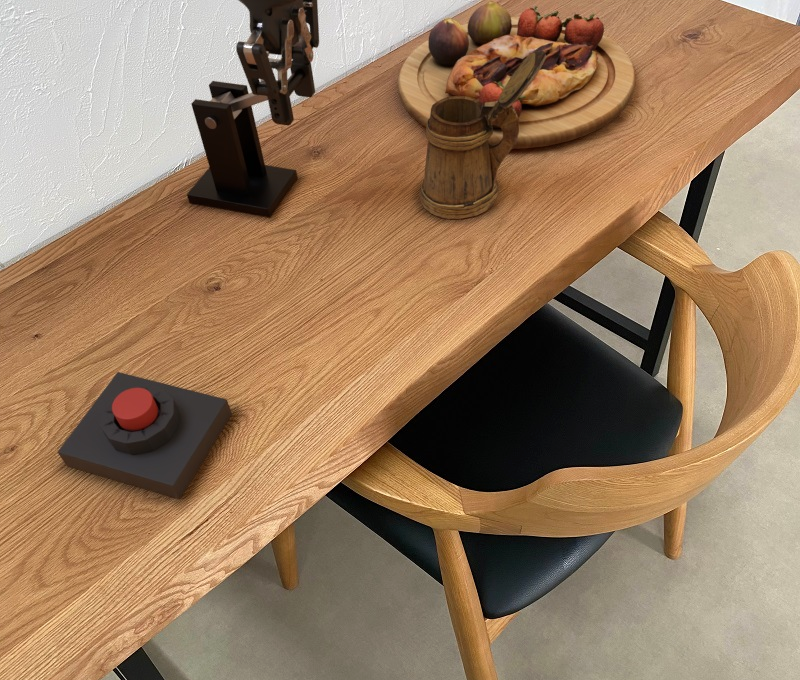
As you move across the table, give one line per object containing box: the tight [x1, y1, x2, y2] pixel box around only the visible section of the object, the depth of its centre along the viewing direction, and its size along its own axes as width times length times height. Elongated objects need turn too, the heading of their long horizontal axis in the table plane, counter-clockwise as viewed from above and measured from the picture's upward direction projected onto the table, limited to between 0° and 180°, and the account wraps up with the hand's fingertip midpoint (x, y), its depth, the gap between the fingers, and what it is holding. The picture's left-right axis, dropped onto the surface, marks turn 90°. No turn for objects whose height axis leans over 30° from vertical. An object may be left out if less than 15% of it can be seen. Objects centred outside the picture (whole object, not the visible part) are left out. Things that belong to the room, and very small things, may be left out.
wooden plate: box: [396, 0, 637, 149], centre depth 106 cm, size 32×32×8 cm
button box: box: [57, 371, 233, 500], centre depth 73 cm, size 12×10×4 cm
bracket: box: [186, 80, 299, 219], centre depth 93 cm, size 11×8×13 cm
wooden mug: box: [419, 51, 547, 220], centre depth 87 cm, size 9×14×18 cm, turn 79°
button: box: [112, 388, 158, 431], centre depth 71 cm, size 4×4×2 cm
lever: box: [210, 69, 305, 119], centre depth 87 cm, size 12×5×2 cm, turn 71°
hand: (294, 108), depth 86 cm, fingers closed on lever, 5 cm apart
